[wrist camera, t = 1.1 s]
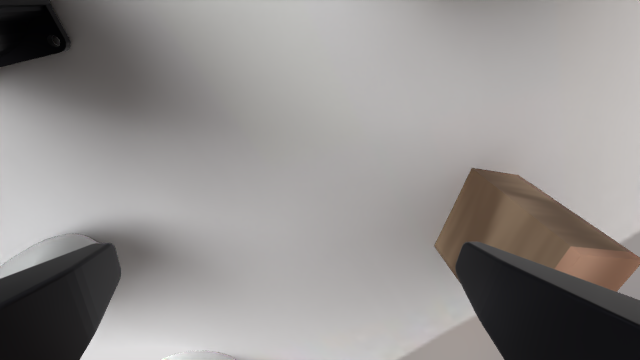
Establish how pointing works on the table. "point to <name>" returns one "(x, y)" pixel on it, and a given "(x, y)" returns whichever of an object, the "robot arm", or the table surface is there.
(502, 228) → the walnut block
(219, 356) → the base with upright slab
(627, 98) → the table surface
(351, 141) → the table surface
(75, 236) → the donut
